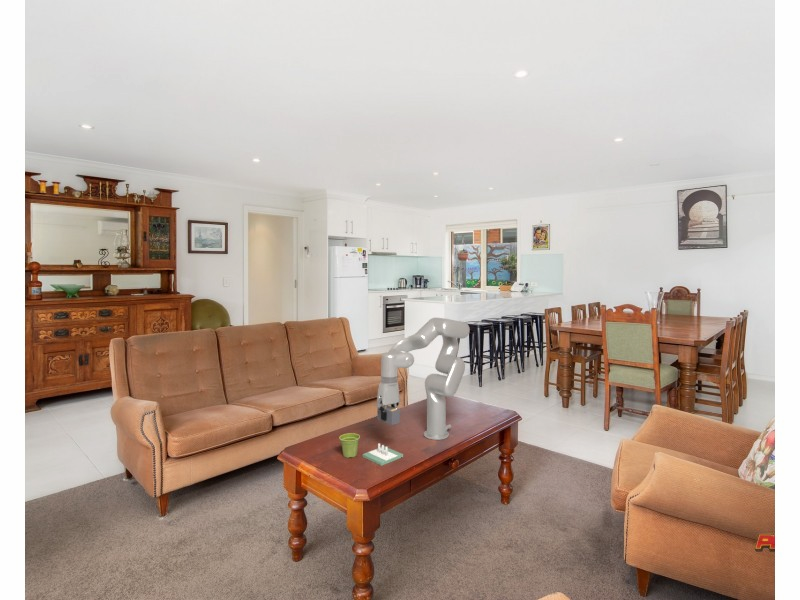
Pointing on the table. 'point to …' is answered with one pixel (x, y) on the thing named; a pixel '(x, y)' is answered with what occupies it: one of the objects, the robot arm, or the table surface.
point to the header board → (382, 455)
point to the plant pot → (349, 444)
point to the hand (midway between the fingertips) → (388, 418)
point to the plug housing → (390, 415)
